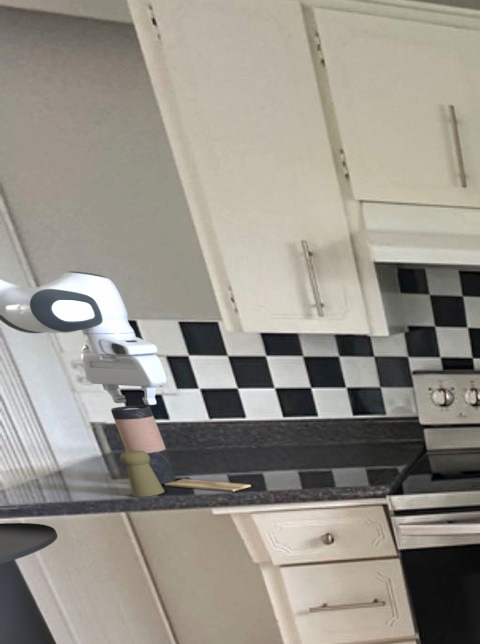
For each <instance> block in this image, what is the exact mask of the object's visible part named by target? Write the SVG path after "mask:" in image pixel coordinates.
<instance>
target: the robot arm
mask: <svg viewBox="0 0 480 644" xmlns="http://www.w3.org/2000/svg"><path fill="white" fill-rule="evenodd" d="M128 318H129V315H128V310H127V307H126V305H125V303H124V301H123V298H122V296H121V294H120V292H119V290H118V288H117V286H116V285H115V283H114V282H113V281H112V280H111V279H110V278H108V277H106V276H104V275H102V274H97V273H91V272H82V271H71V270H70V271H65V272H64V273H63V275H62V276H60V277H59V278H57V279H55V280H53V281H51V282H48V283H46V284H43V285H40V286H25V285H19V284H15V283H11V282H8V281H5V280H3V279H2V278H0V321H1V322H2V323H3V324H5V325H6V326H8V327H9V328H11V329H14V330H16V331H18V332H21V333H26V334H44V333H47V334H48V333H49V334H68V333H74V332H77V331H82V335H83V337H84V339H85V342H86V344H84V345H83V347H82V349H81V357H80V359H81V364H82V368H83V371H84V374H85V377H86V379H87V380H88V382H90V384H92V385H102V386H103V388H104V390H105V391H106V392H107V393H108V394H109V396H111V398H112V400H113V402H114V403H115V404H125V403H127V399H126V396H125V395H124V394H122V393H121V392H120V390H119V386H130V387H140V388H141V391H143V392H144V397H141V398H142V401H143V404H144V405H145V406H154V405H157V399H156V394H157V388H156V387H163V386H167V385H166V384H167V382H168V380H167V375H166V371H165V369H164V366H163V364H162V361H161V359H160V358H159V356H158V355H156V354H158V352H159V350H158V347H157V346H156V345H155V344H154V343H151V342H149V341H146V340H145V339H142V338H140V337H138V336H137V335H136V333H135V330H134V329H133V327H132V326H131V325H130V322H129V319H128Z"/></svg>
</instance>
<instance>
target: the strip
mask: <svg viewBox="0 0 480 644" xmlns="http://www.w3.org/2000/svg"><path fill="white" fill-rule="evenodd" d="M164 486H165V487H174V488H186V489H187V488H188V489H197V490H198V489H199V490H211V491H223V492H233V493H234V492H237V491H240V490H244V489H247V488H251V487H252V485H251V484H247V483H235V482H224V481H213V480H212V481H211V480H199V479H188V478H182V479H179V480H175V481H173V482H170V483H166V484H164Z"/></svg>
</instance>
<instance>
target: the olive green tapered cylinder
mask: <svg viewBox="0 0 480 644" xmlns="http://www.w3.org/2000/svg"><path fill="white" fill-rule="evenodd" d="M119 457H120V461H121V462H122V464H124V465H125V466H126V469H127V474H128V479H129V483H130V489H131V492H132V493H131V495H132V497H134V498H143V497H152V496H156V495H161V494H163V493H165V492H166V491H165V489H164V488H163V486H162V484H160V482H159V481H158V479H157V477H156V475H155V474H154V472H153V470H152V468H151V467H150V465H149V461H150V457H149V455H148V454H147V453H146V452H145V451H128V452H126V451H123V452H122V453H121V454H120V455H119Z"/></svg>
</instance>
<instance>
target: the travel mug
mask: <svg viewBox="0 0 480 644" xmlns="http://www.w3.org/2000/svg"><path fill="white" fill-rule="evenodd" d="M110 411H111V414H112V417H113V419H114V420H113V421H114V423H115V426H116V428H117V431H118V433H119V437H120V438H121V442H122V444H123V447H124V449H125V452H128V451H145V452H146V453H147V454H148V455H149V457H150V461H149V465H150V467H151V468H152V470H153V472H154V474H155V475H156V477H157V479H158V481H159V482H160V484H161V485H165V484H166V483H170V482H174V481H177V479H176V475H175V472H174V469H173V466H172V463H171V459H170V456H169V453H168V451H167V447H166V445H165V442H164V440H163V437H162V435H161V432H160V429H159V426H158V424H157V422H156V419H155V417H154V413H153V411H152V409H151V405H145V404H144V405H143V404H142V405H140V404H139V405H125V406H124V405H123V406H117V407H112V408H111V409H110Z"/></svg>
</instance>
